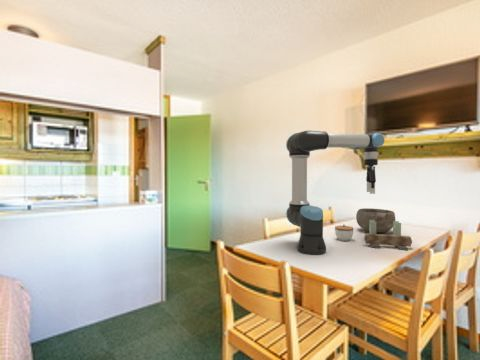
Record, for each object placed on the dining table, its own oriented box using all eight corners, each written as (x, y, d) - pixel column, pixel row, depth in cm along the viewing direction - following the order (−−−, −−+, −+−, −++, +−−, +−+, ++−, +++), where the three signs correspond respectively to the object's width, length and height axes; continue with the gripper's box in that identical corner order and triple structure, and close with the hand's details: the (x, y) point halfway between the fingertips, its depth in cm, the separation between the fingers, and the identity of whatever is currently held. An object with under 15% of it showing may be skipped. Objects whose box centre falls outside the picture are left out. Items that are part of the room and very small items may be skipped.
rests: (371, 247, 147) (371, 245, 147) (369, 243, 156) (369, 241, 155) (407, 250, 142) (407, 247, 142) (402, 246, 150) (402, 243, 150)
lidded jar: (347, 243, 157) (347, 227, 157) (331, 239, 166) (331, 224, 165) (356, 239, 164) (356, 224, 164) (340, 236, 172) (340, 222, 172)
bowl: (394, 237, 169) (395, 214, 169) (353, 233, 182) (353, 211, 181) (395, 230, 190) (396, 209, 189) (358, 226, 202) (358, 207, 202)
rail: (365, 243, 150) (365, 234, 150) (364, 241, 154) (364, 233, 154) (412, 246, 143) (412, 237, 143) (410, 245, 147) (410, 236, 146)
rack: (369, 241, 160) (369, 221, 160) (368, 238, 166) (368, 219, 166) (401, 243, 155) (402, 223, 155) (399, 241, 161) (399, 221, 160)
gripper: (381, 157, 154) (381, 194, 155) (374, 159, 178) (373, 191, 178) (367, 158, 156) (366, 194, 157) (361, 159, 180) (361, 191, 181)
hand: (370, 192), depth 168 cm, fingers open, 13 cm apart
